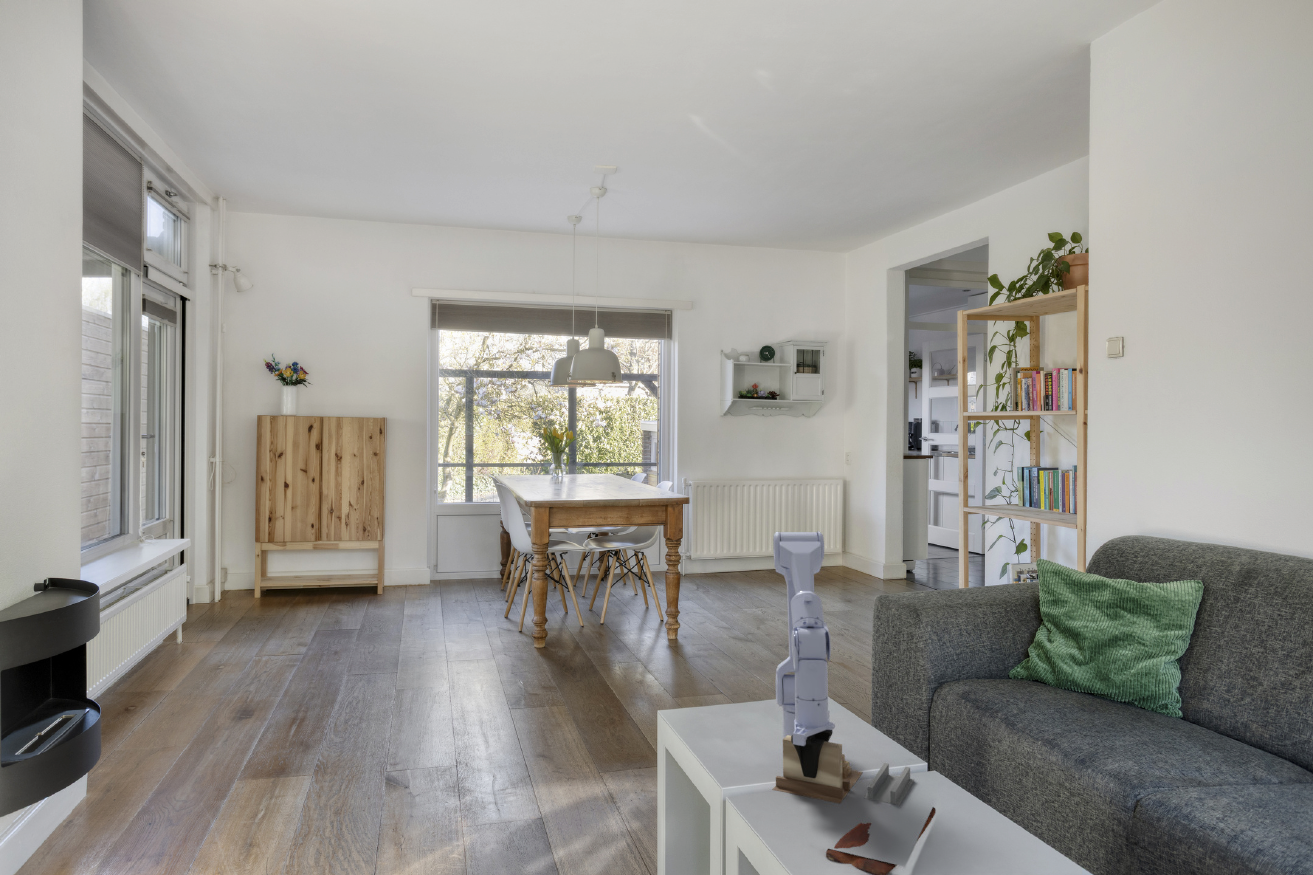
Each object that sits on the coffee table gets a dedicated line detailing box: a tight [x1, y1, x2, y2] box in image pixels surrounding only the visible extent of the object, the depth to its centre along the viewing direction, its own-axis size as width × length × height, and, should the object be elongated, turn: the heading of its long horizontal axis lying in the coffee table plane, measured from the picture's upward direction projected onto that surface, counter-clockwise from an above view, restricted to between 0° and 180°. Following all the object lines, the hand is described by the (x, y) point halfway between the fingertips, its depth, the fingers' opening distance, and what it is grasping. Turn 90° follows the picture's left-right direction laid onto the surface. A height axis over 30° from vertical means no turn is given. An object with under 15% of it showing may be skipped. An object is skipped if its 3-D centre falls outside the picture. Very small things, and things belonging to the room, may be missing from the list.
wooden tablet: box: [825, 806, 937, 875], centre depth 126 cm, size 27×10×2 cm, turn 143°
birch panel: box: [782, 735, 843, 788], centre depth 141 cm, size 2×10×8 cm, turn 61°
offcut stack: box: [842, 753, 852, 779], centre depth 148 cm, size 4×8×3 cm, turn 61°
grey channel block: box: [863, 762, 915, 806], centre depth 141 cm, size 12×6×3 cm, turn 151°
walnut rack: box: [772, 769, 863, 804], centre depth 144 cm, size 15×12×2 cm
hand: (812, 773), depth 141 cm, fingers closed on birch panel, 2 cm apart
